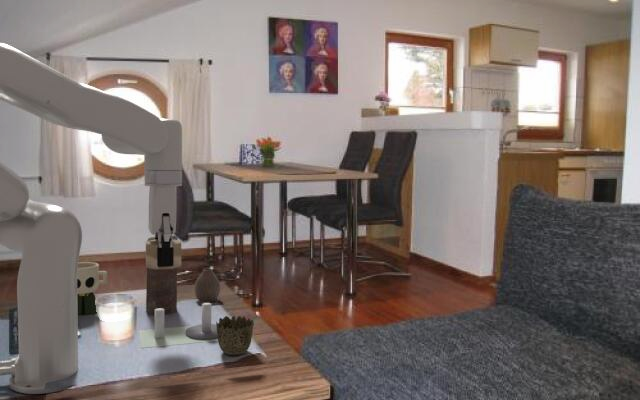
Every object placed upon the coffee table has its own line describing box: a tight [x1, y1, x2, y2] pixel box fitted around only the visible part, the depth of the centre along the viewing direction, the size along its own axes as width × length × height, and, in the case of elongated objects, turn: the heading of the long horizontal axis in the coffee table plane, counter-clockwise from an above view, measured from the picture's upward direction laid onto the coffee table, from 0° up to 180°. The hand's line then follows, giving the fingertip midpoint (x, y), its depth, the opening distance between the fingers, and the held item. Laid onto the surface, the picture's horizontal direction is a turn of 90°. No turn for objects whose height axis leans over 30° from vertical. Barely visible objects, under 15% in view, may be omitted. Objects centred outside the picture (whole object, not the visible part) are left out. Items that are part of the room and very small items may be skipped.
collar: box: [145, 239, 182, 269], centre depth 117 cm, size 7×7×5 cm
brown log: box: [145, 234, 179, 316], centre depth 136 cm, size 8×7×20 cm
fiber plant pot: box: [215, 315, 255, 357], centre depth 110 cm, size 8×7×8 cm
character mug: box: [77, 261, 108, 317], centre depth 133 cm, size 11×7×13 cm, turn 113°
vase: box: [194, 268, 221, 304], centre depth 151 cm, size 7×7×9 cm
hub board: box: [138, 302, 218, 349], centre depth 120 cm, size 18×11×8 cm, turn 111°
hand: (163, 261), depth 117 cm, fingers closed on collar, 7 cm apart
